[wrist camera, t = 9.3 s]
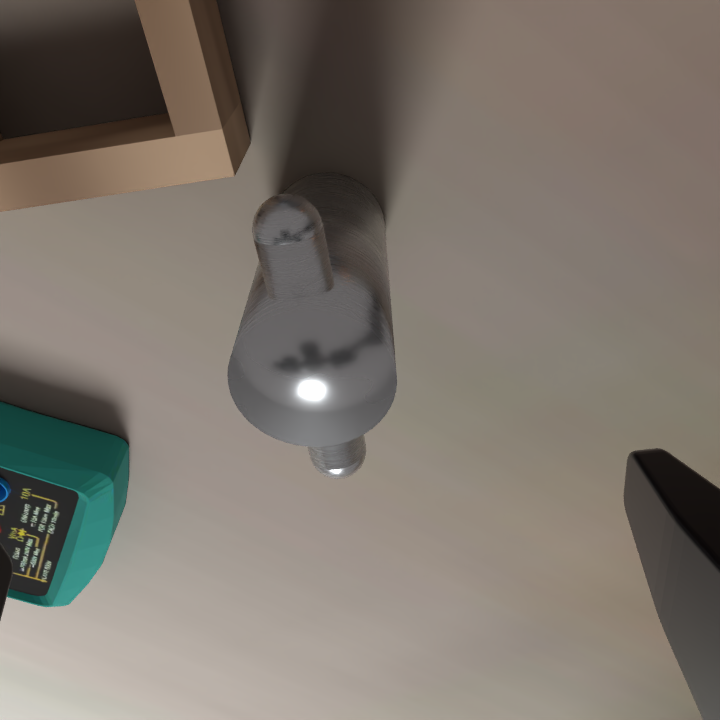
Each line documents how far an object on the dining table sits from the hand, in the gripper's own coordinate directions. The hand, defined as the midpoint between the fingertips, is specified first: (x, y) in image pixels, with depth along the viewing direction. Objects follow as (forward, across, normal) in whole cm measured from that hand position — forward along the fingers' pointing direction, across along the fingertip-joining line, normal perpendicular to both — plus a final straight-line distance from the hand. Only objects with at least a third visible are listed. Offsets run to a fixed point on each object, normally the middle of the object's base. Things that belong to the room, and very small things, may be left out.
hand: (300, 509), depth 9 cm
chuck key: (+10, 0, 0) cm, 10 cm away
